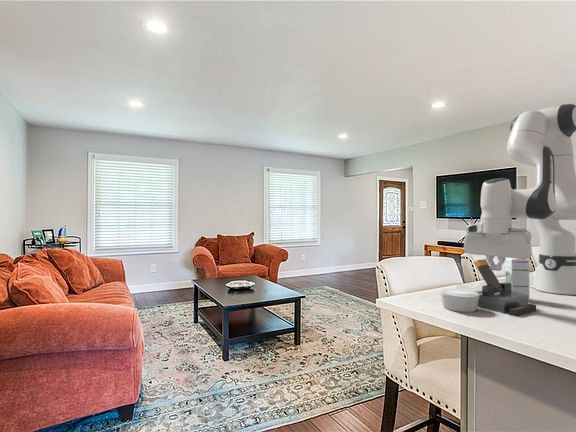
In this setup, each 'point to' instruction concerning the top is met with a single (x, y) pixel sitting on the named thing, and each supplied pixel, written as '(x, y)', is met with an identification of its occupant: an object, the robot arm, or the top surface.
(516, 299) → the stepped grey base plate
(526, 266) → the syrup box
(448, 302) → the ramekin
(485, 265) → the lever
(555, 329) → the top surface
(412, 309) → the top surface
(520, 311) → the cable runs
